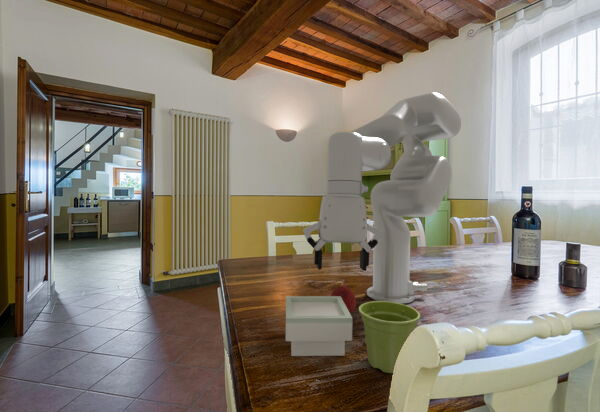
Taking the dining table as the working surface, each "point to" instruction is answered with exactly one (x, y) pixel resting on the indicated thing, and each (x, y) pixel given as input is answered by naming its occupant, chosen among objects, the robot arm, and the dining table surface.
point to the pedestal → (317, 325)
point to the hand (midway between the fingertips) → (341, 268)
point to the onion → (346, 296)
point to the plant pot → (386, 331)
